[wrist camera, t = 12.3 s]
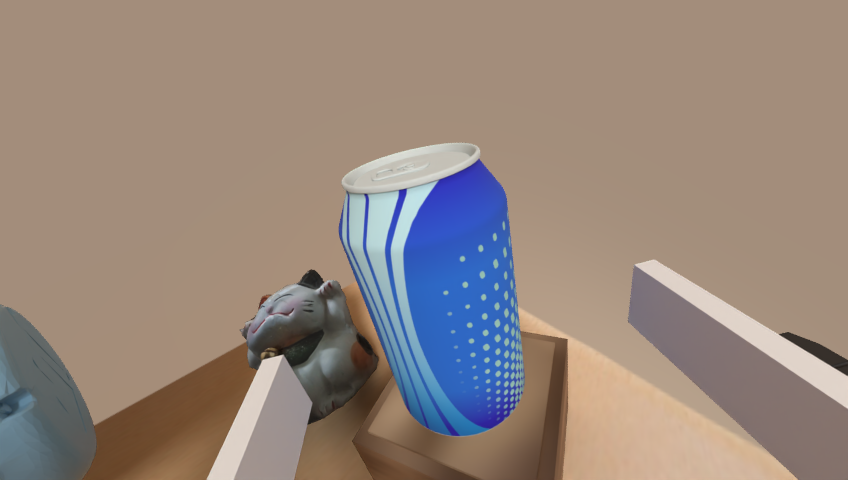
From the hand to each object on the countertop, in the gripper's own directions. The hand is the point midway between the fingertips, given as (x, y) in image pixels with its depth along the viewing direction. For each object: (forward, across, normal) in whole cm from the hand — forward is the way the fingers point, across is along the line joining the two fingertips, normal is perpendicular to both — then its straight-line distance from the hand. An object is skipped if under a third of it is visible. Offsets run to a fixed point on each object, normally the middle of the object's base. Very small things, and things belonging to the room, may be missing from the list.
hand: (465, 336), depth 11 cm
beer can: (+6, 0, -11) cm, 12 cm away
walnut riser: (+6, 0, -19) cm, 20 cm away
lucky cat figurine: (+17, -16, -19) cm, 30 cm away
